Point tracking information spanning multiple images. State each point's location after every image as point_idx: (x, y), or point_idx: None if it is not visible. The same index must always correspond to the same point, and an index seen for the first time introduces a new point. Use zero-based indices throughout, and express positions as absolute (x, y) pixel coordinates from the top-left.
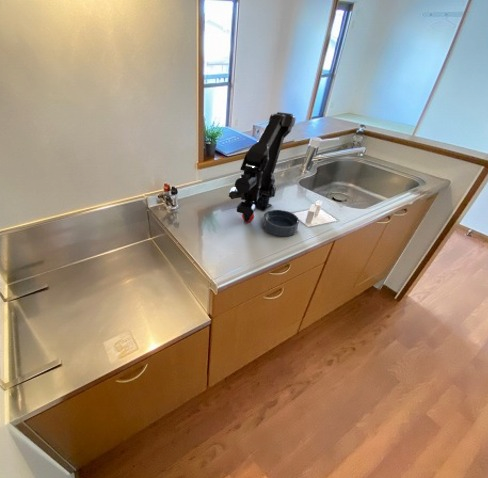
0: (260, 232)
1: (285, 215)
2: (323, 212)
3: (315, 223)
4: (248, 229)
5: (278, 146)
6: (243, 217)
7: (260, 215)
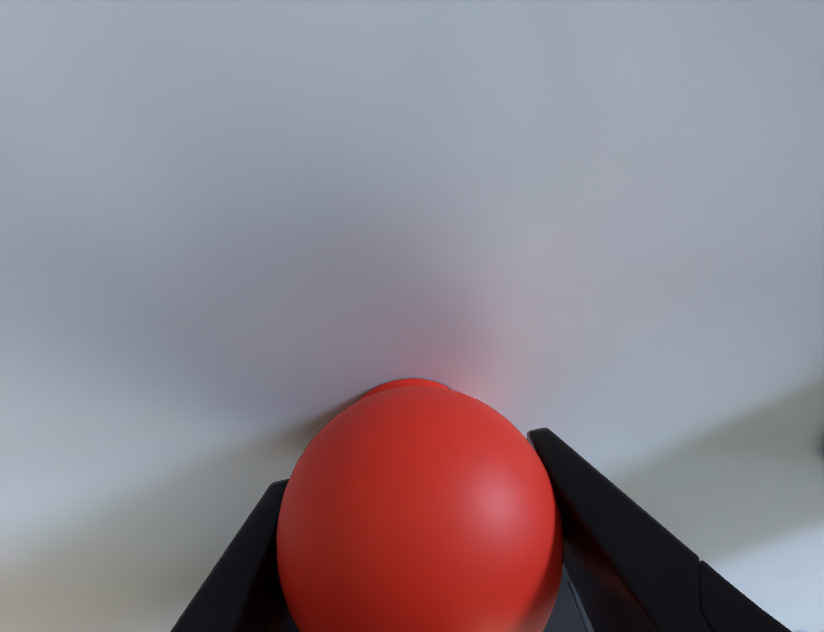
0: None
1: None
2: None
3: None
4: (193, 523)
5: None
6: (284, 498)
7: (670, 479)
